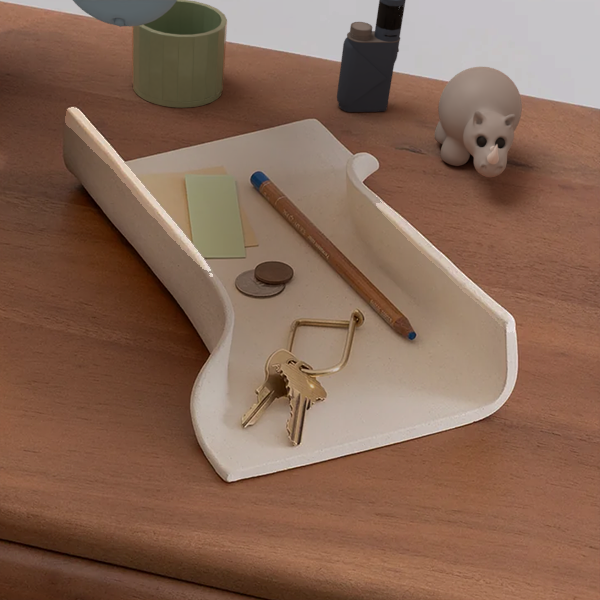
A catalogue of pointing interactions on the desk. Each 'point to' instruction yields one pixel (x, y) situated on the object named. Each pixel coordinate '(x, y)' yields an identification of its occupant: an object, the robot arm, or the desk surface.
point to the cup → (180, 56)
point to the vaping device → (370, 60)
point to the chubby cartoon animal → (478, 119)
